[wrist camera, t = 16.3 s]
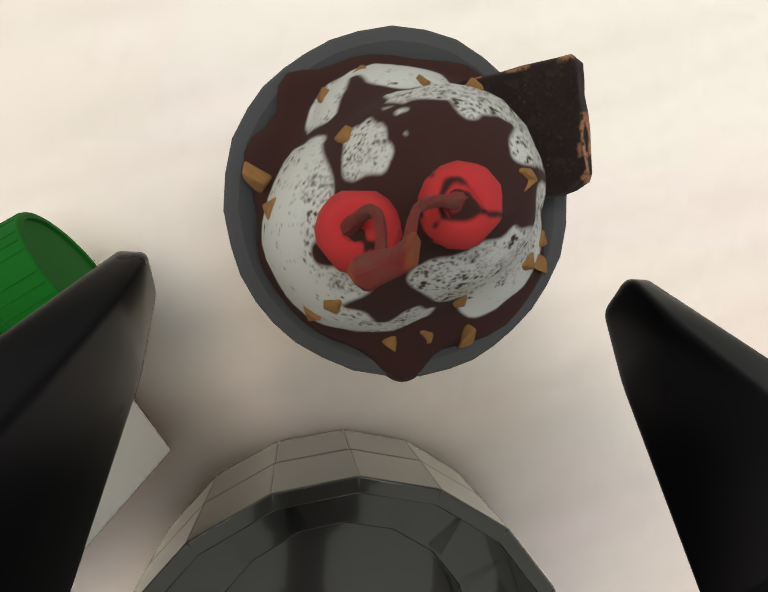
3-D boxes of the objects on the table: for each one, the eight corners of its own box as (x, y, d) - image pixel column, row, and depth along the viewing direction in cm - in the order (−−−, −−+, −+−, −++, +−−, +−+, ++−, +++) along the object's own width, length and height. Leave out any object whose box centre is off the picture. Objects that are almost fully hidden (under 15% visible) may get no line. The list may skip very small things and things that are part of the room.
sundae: (254, 329, 18) (77, 453, 4) (274, 156, 19) (184, -391, 4) (420, 345, 20) (796, 490, 5) (438, 182, 20) (852, -161, 5)
